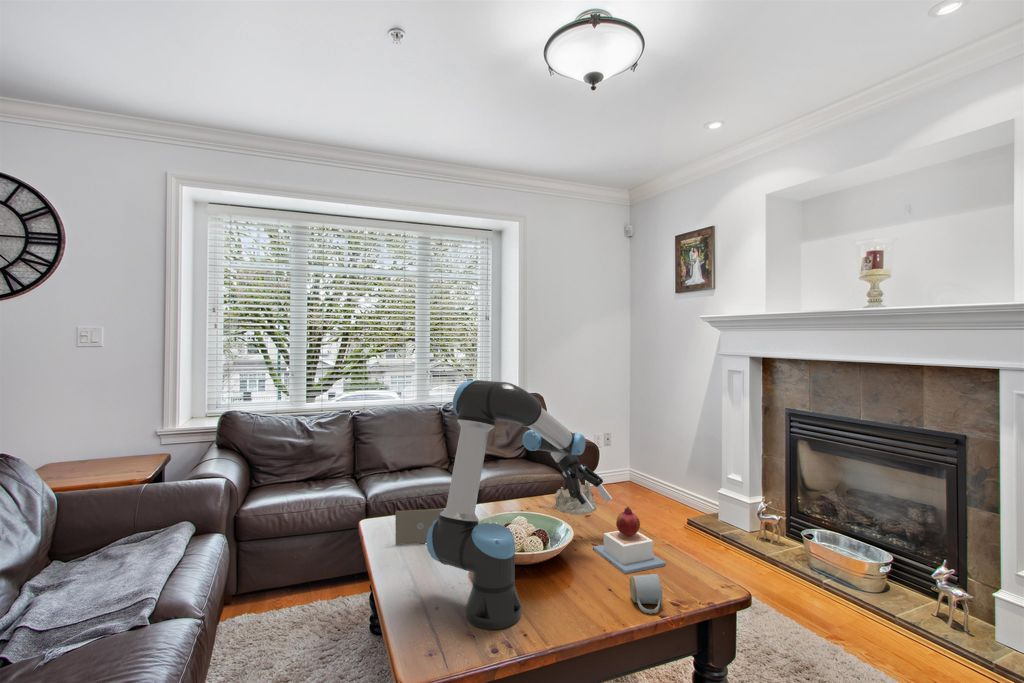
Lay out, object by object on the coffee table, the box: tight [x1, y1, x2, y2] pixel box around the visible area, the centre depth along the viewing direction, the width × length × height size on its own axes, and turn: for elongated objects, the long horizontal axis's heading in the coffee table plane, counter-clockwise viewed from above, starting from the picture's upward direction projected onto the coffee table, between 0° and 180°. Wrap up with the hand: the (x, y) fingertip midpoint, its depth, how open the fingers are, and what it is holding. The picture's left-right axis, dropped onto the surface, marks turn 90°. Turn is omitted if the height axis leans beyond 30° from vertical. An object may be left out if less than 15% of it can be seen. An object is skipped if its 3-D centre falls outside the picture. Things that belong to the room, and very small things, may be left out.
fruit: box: [615, 506, 641, 536], centre depth 173 cm, size 8×8×10 cm
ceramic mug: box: [629, 573, 664, 615], centre depth 142 cm, size 11×8×8 cm
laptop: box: [394, 508, 446, 546], centre depth 190 cm, size 18×12×13 cm
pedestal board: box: [592, 530, 667, 575], centre depth 173 cm, size 20×16×7 cm
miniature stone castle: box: [554, 479, 597, 515], centre depth 223 cm, size 16×16×15 cm
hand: (600, 505), depth 179 cm, fingers open, 13 cm apart
